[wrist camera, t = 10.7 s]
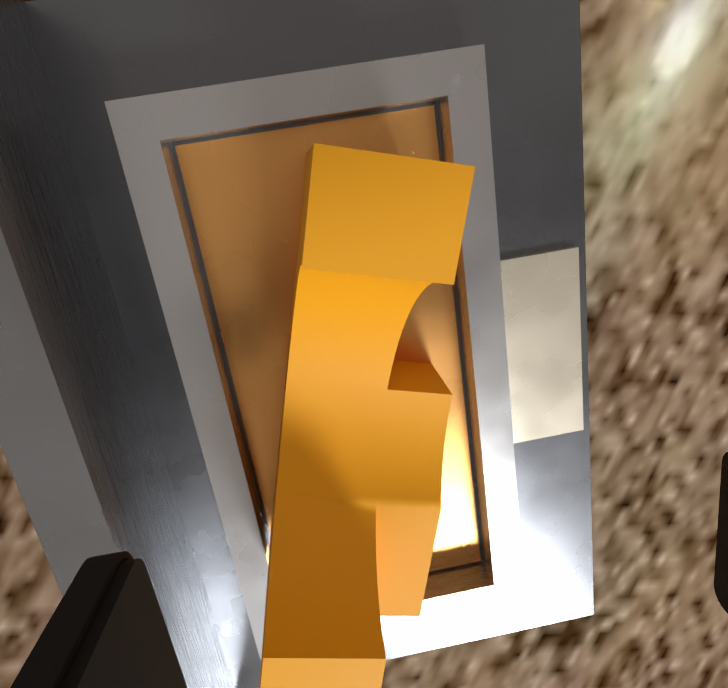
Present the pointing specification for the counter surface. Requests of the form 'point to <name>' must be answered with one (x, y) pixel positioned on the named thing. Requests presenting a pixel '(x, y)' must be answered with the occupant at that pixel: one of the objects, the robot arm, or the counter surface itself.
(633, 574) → the counter surface
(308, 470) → the orange notched block
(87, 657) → the robot arm
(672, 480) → the counter surface
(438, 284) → the grey tray with recess
